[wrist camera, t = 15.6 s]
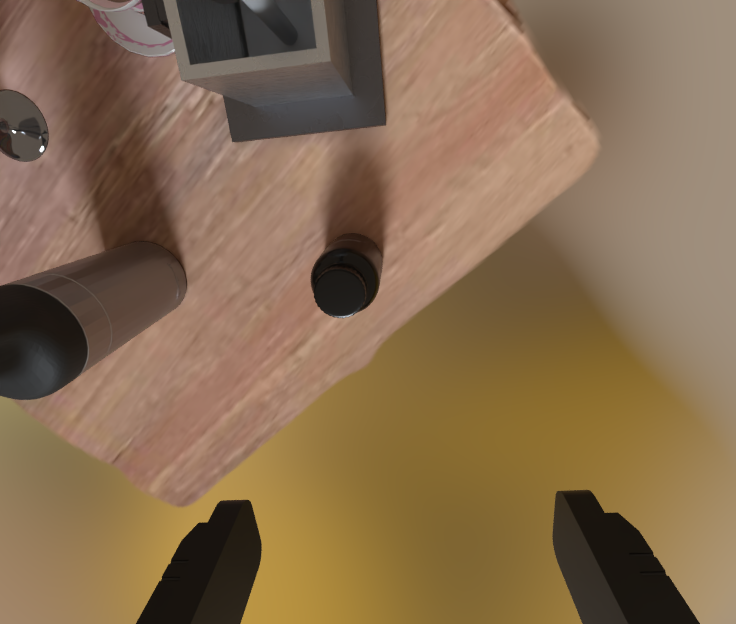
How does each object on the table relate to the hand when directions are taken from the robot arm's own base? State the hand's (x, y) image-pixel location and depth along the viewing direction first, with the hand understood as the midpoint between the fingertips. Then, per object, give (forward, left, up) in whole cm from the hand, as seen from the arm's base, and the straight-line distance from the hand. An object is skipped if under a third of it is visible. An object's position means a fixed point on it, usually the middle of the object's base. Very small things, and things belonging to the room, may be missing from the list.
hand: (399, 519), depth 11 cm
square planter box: (-8, +20, -38) cm, 44 cm away
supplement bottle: (-5, -2, -38) cm, 39 cm away
